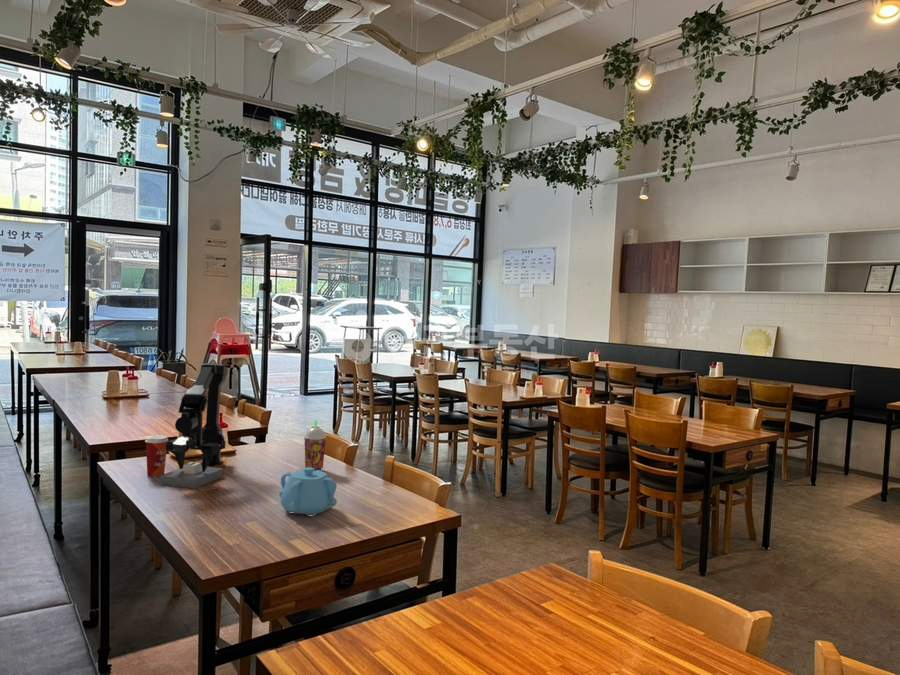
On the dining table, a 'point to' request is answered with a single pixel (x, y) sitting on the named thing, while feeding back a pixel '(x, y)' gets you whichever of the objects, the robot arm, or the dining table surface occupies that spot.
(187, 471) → the block
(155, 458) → the paper cup
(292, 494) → the decorative pot
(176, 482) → the socket plate
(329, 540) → the dining table surface
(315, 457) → the smoothie
